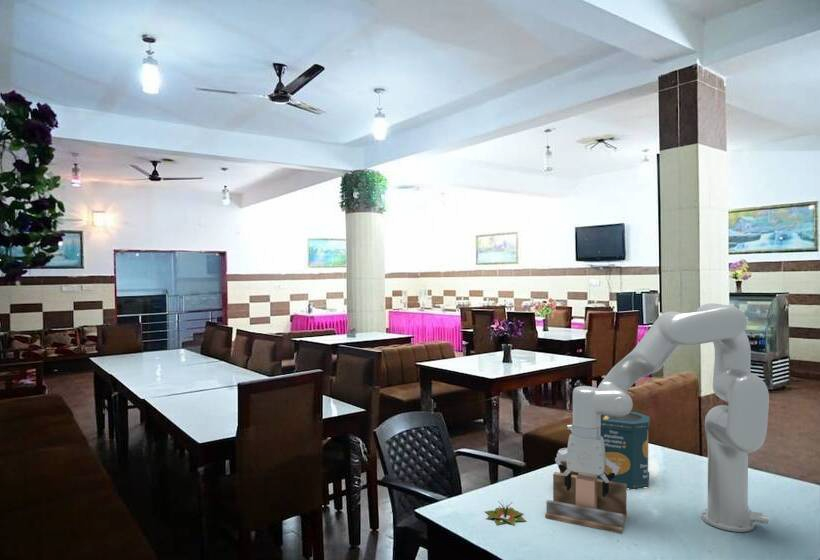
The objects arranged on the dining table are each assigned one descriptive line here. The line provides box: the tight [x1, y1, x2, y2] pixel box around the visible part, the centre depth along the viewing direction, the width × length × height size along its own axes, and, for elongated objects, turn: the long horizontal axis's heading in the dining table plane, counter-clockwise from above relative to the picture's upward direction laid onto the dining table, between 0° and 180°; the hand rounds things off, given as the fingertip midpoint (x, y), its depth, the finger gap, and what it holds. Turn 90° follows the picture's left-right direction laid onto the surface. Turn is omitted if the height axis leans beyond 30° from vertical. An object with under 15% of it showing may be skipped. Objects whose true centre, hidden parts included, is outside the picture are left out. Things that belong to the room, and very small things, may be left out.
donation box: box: [597, 411, 650, 490], centre depth 179 cm, size 16×16×28 cm
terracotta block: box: [576, 473, 597, 509], centre depth 152 cm, size 5×5×10 cm
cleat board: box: [544, 471, 628, 535], centre depth 152 cm, size 20×13×9 cm, turn 63°
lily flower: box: [484, 499, 527, 526], centre depth 151 cm, size 12×12×5 cm
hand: (586, 491), depth 152 cm, fingers open, 9 cm apart
